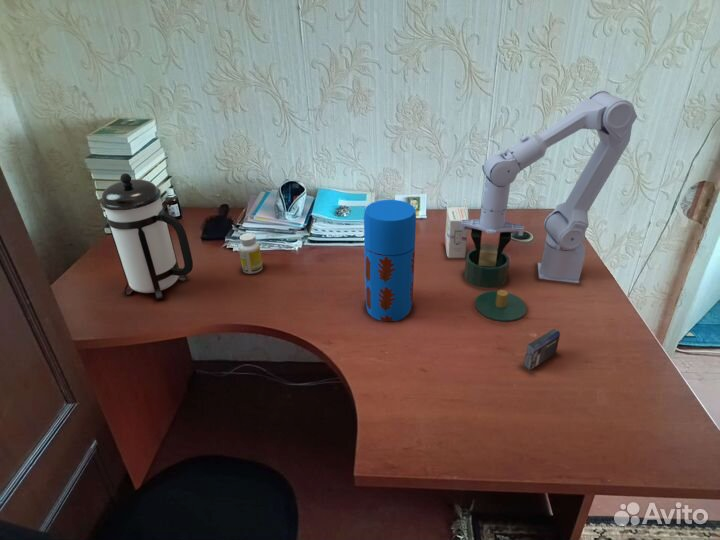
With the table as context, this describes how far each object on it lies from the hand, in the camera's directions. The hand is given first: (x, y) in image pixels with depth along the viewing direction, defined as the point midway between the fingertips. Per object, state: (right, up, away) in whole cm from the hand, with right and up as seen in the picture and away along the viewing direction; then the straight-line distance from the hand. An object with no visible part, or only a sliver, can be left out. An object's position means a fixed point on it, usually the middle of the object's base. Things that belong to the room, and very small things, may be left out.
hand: (487, 257), depth 122 cm
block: (0, -1, +1) cm, 1 cm away
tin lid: (+1, -12, -8) cm, 14 cm away
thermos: (-25, -12, -7) cm, 28 cm away
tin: (0, -5, +3) cm, 6 cm away
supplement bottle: (-60, -3, +10) cm, 61 cm away
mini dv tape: (+4, -22, -23) cm, 32 cm away
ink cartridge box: (-5, +2, +15) cm, 16 cm away
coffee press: (-82, -7, +3) cm, 82 cm away
